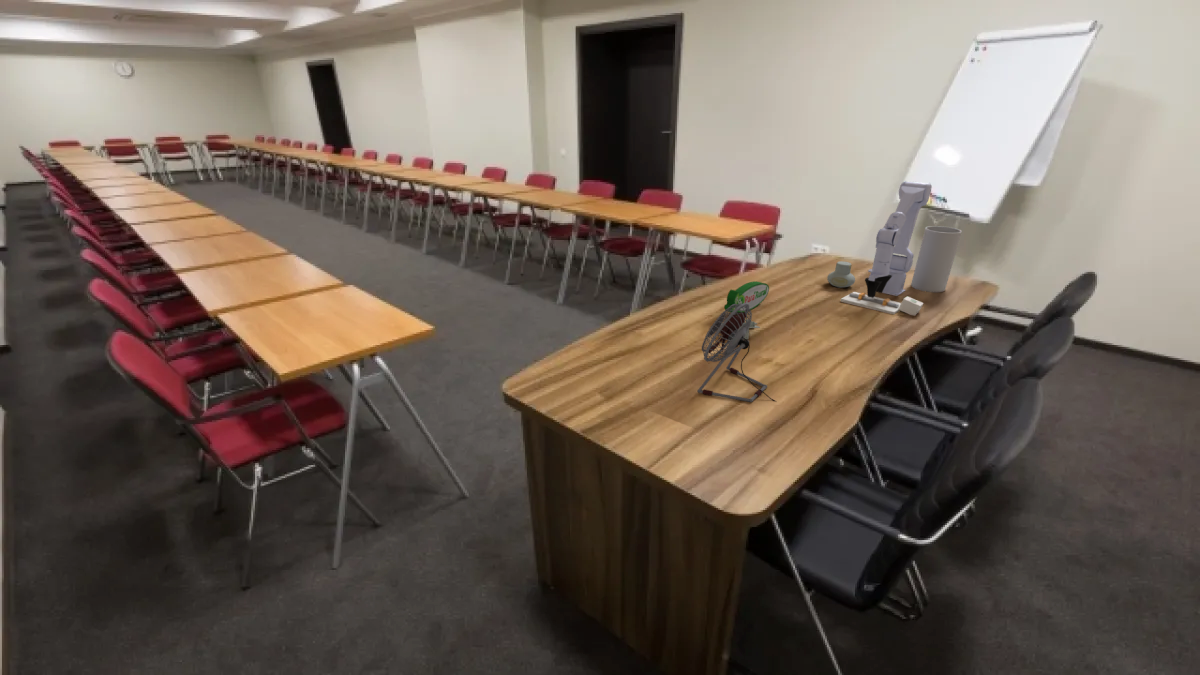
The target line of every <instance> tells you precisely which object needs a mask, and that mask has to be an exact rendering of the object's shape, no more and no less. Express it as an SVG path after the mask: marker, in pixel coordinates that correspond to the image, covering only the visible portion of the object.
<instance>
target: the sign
mask: <svg viewBox="0 0 1200 675" xmlns="http://www.w3.org/2000/svg"><path fill="white" fill-rule="evenodd" d="M769 292H770V287H769V284H767V283H764V282H761V281H755V280H754V281H749V282H747V283H744V284H742V285H740V286H739V287H738V288H736V289H730V290H729V292H728V294H727V296H726V304H724V306H723V307H724V311H725V310H726V309H727V308H729V307H730V306H731V305H733V304H743V303H747V304H749V309H750V311H751V310H753V309H755V308H757V307H758V306H759V305H761V303H762V302H764V300H765V299H767V296H768V294H769ZM734 307H736V306H734ZM743 308H744V310H745V309H746V308H745V307H743ZM743 308H741V309H740V310H743ZM731 309H732V307H731V308H730V310H731ZM733 309H734V310H735V308H733ZM733 309H732V310H733ZM727 312H729V313H731V312H733V311H731V312H730V311H727ZM741 312H742V313H745V311H741ZM741 312H740V311H737V313H741Z"/></svg>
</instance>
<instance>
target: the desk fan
mask: <svg viewBox="0 0 1200 675" xmlns="http://www.w3.org/2000/svg"><path fill="white" fill-rule="evenodd" d="M734 306H736V307H734ZM731 307H732V309H733V308H735V310H734V309H733V310H732V309H731V310H730V308H731ZM743 307H745V308H746V309H745V310H744V308H743ZM741 308H743V310H740V309H741ZM727 311H730V312H727ZM731 311H733V312H731ZM737 311H740V312H737ZM741 311H745V312H741ZM752 316H753V315H752V311H751V310H750V309H749V304H747V303H743V304H733V305H731V306H730V307H729V308H727V309H726V310H725V309H724V311H722V313H720V315H719V316H717V318H716V320H714V322H713V323H714V324H713V323H712V325H711V326H710V327H709V329H708V331H706V334H705V337H704V340H703V342H702V345H701V351H702V353H703V360H704V361H705V362H707V363H708V362H714V363H716V362H718V364H716V365H715V367H714V369H713V370H712V371H711V373H710V374H709V375H708V376H707V378H706V379H705V380H704V382H703V383H702V384H701V386H700V387H699V388H698V389H697V393H698V394H703V395H705V396H706V395H707V396H711V397H712V396H715V397H722V398H727V399H732V400H738V401H744V402H749V403H752V402H754V400H756V398H759V397H760V396H761V395H762V394H764V395H765V396H766V397H767V398H768V399H770V400H771V401H773V402H776V403H777V400H774V399H773V398H771V397H770V396H769V395H768V394H767V393H766V392H764V390H765V389H767V388H768V385H767V384H764V383H762V382H760V381H758V380H755V379H754V378H752V377H750V376H748V375H746V374H745V373H744V371H743V361H744V360H745V358H746V357H747V355H748V354H749V351H750V340H749V339H745V338H744V337H745V332H746V333H747V330H748V328H749V327H750V324H751V321H752ZM725 319H726V320H725ZM747 319H748V320H749V321H747ZM748 322H749V323H748ZM743 323H744V324H746V325H744V324H743ZM721 324H722V325H721ZM741 326H743V327H741ZM740 327H741V328H740ZM749 329H750V328H749ZM738 330H739V331H738ZM719 334H720V335H719ZM717 337H718V339H717ZM714 341H715V342H714ZM720 344H721V345H720ZM718 348H720V349H719V350H718ZM746 349H747V352H746V354H744V356H743V358H742V359H741V361H740V371H741V372H740V371H739V370H738V369H736V368H734V367H731V366H732V364H733V363H734V362H735V360H736V358H738V355H739V353H740V352H741V350H746ZM712 352H713V353H712ZM732 355H733V356H732ZM729 357H732V358H731V360H730V361H729V363H728V364H727V366H726V370H728V371H729V372H730V373H732V374H733V375H736V376H739V377H740V376H741V377H742V378H744V379H746V380H747V381H748V382H750V384H751V385H752V386H753V387H754V388H755V389H757V391H755V393H754V394H753V396H752V397H751V398H745V397H741V396H736V395H735V396H734V395H730V394H725V393H720V392H714V391H713V390H710V389H704V387H705V386H707V384H708V383H709V382H710V380H711V379H712V377H713V376H714V375H715V373H716V372H717V371H718V370H719V369H720V367H721V366H722V365H723V363H724V362H725V361H726V360H727V359H728V358H729ZM756 385H758V386H760V387H761V388H758V386H756Z"/></svg>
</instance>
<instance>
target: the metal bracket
mask: <svg viewBox="0 0 1200 675" xmlns="http://www.w3.org/2000/svg"><path fill="white" fill-rule="evenodd" d="M725 320H726V319H725ZM725 320H724V321H725ZM747 321H749V320H748V318H747ZM714 323H715V322H713V323H712V325H713V324H714ZM748 323H749V322H748ZM743 324H744V323H743ZM721 325H722V324H721ZM744 325H746V324H744ZM741 327H743V326H741ZM741 327H740V328H741ZM754 328H755V329H761V327H760V326H758V322H755V321H753V320H751V324H750V327H749V328H748V330H747V333H746V332H745V337H744V338H745V339H746V340H749V336H750V335H749V334H750V333H749V332H750V329H754ZM738 331H739V330H738ZM745 339H744V340H745Z"/></svg>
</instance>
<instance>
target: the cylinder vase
mask: <svg viewBox="0 0 1200 675" xmlns="http://www.w3.org/2000/svg"><path fill="white" fill-rule="evenodd" d="M961 236H962V230H961V229H958V228H955V227H950V226H943V225H942V226H939V225H932V226H931V225H929V226H926V227H925V229H924V232H923V236H922V240H921V244H920V248H919V252H918V256H917V259H916V263H915V268H914V273H913V276H912V280H911V283H910V285H911V288H913V289H914V290H917V291H921V292H925V291H926V292H927V293H943V292H944V291H946V288H947V285H948V281H949V278H950V273H951V270H952V268H953V263H954V260H955V256H956V253H957V249H958V247H959V243H960V239H961Z"/></svg>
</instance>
